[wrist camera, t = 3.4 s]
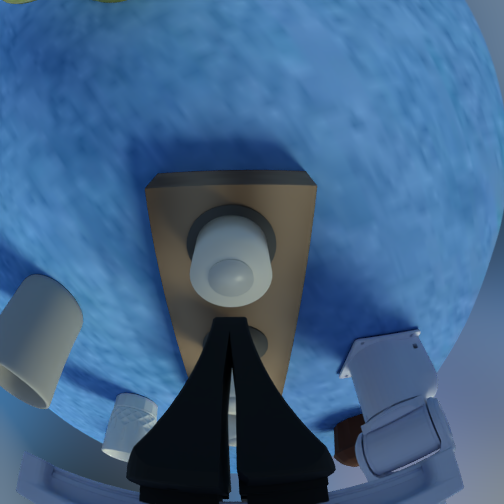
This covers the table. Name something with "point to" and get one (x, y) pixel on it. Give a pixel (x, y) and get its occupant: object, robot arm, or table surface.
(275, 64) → the table surface
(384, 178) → the table surface
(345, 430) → the muffin
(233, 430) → the knob far
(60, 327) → the mug
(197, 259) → the knob near
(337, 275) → the table surface
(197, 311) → the knob strip
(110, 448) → the white cup
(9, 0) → the plant pot
